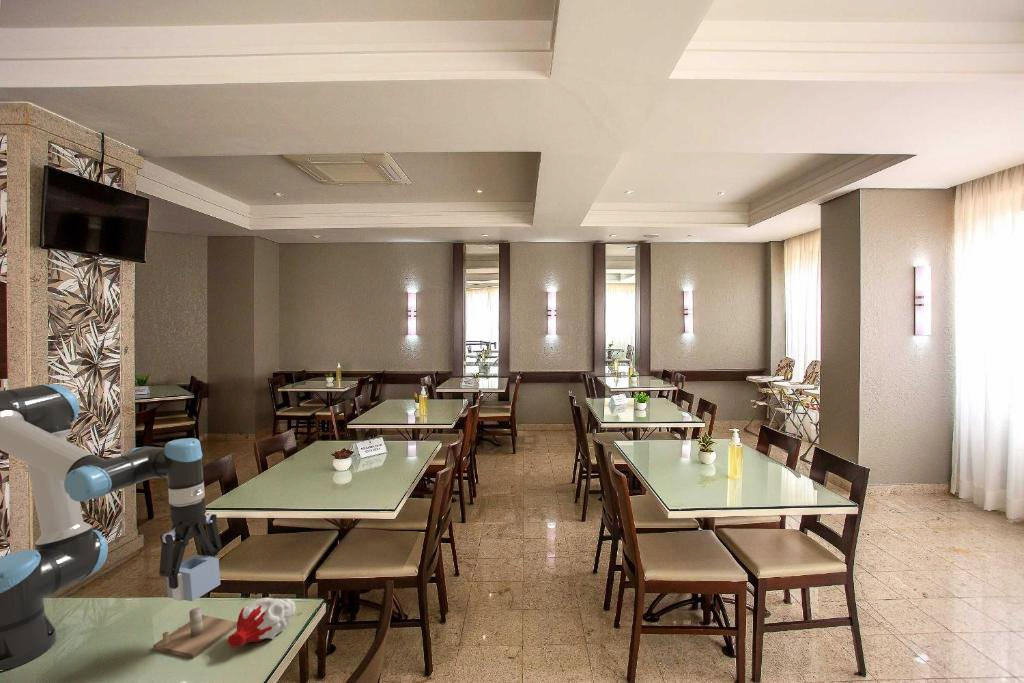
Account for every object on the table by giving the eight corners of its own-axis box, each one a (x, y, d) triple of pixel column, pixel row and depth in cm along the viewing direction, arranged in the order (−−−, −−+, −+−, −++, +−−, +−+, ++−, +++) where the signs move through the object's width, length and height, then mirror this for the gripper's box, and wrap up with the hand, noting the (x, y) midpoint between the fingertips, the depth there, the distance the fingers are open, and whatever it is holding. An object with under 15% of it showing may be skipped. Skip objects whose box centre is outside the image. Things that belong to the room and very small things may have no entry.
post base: (153, 649, 124) (151, 621, 124) (200, 618, 137) (199, 593, 136) (193, 658, 120) (191, 630, 120) (238, 625, 133) (236, 600, 132)
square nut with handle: (220, 584, 130) (218, 557, 130) (192, 601, 123) (190, 573, 122) (187, 579, 134) (184, 553, 134) (157, 595, 126) (155, 568, 126)
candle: (300, 621, 133) (255, 665, 119) (266, 614, 137) (218, 656, 123) (295, 590, 131) (249, 632, 117) (261, 584, 135) (212, 623, 121)
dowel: (162, 646, 124) (161, 634, 124) (166, 643, 125) (166, 631, 125) (165, 647, 123) (164, 635, 123) (170, 644, 125) (169, 632, 124)
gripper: (158, 519, 115) (166, 615, 117) (233, 488, 135) (240, 571, 136) (134, 516, 118) (142, 611, 119) (212, 486, 138) (218, 567, 139)
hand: (194, 589), depth 128 cm, fingers closed on square nut with handle, 8 cm apart
